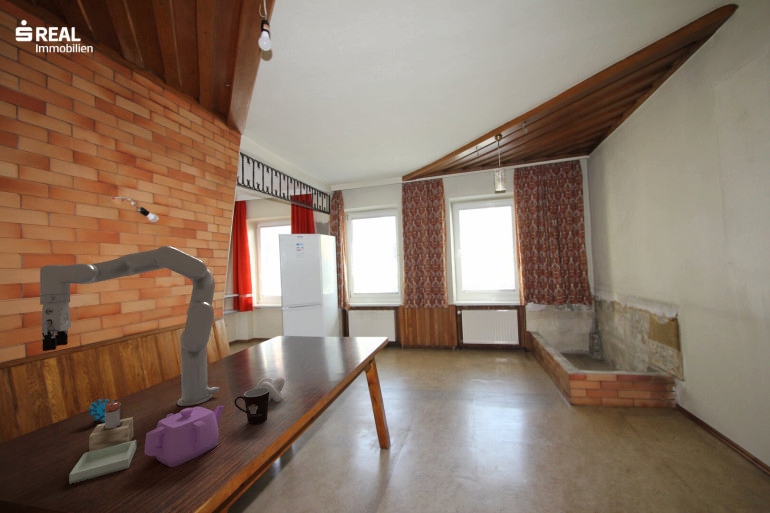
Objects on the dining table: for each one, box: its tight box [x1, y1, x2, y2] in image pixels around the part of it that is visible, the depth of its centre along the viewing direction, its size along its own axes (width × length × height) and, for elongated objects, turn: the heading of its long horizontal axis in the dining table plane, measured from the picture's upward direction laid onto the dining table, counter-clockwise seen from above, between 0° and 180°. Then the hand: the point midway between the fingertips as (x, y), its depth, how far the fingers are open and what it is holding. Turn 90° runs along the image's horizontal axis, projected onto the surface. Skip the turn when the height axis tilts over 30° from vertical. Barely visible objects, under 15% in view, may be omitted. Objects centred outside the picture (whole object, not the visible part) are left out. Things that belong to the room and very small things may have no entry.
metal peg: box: [104, 400, 121, 430], centre depth 100 cm, size 4×4×13 cm
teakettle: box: [143, 405, 225, 468], centre depth 95 cm, size 17×17×12 cm
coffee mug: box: [234, 387, 270, 426], centre depth 113 cm, size 12×9×10 cm
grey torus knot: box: [255, 376, 286, 403], centre depth 130 cm, size 11×12×9 cm
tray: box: [68, 439, 137, 485], centre depth 89 cm, size 12×12×2 cm
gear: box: [88, 398, 122, 423], centre depth 120 cm, size 11×6×10 cm
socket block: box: [88, 416, 134, 452], centre depth 100 cm, size 9×9×6 cm
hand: (55, 347), depth 111 cm, fingers open, 9 cm apart
